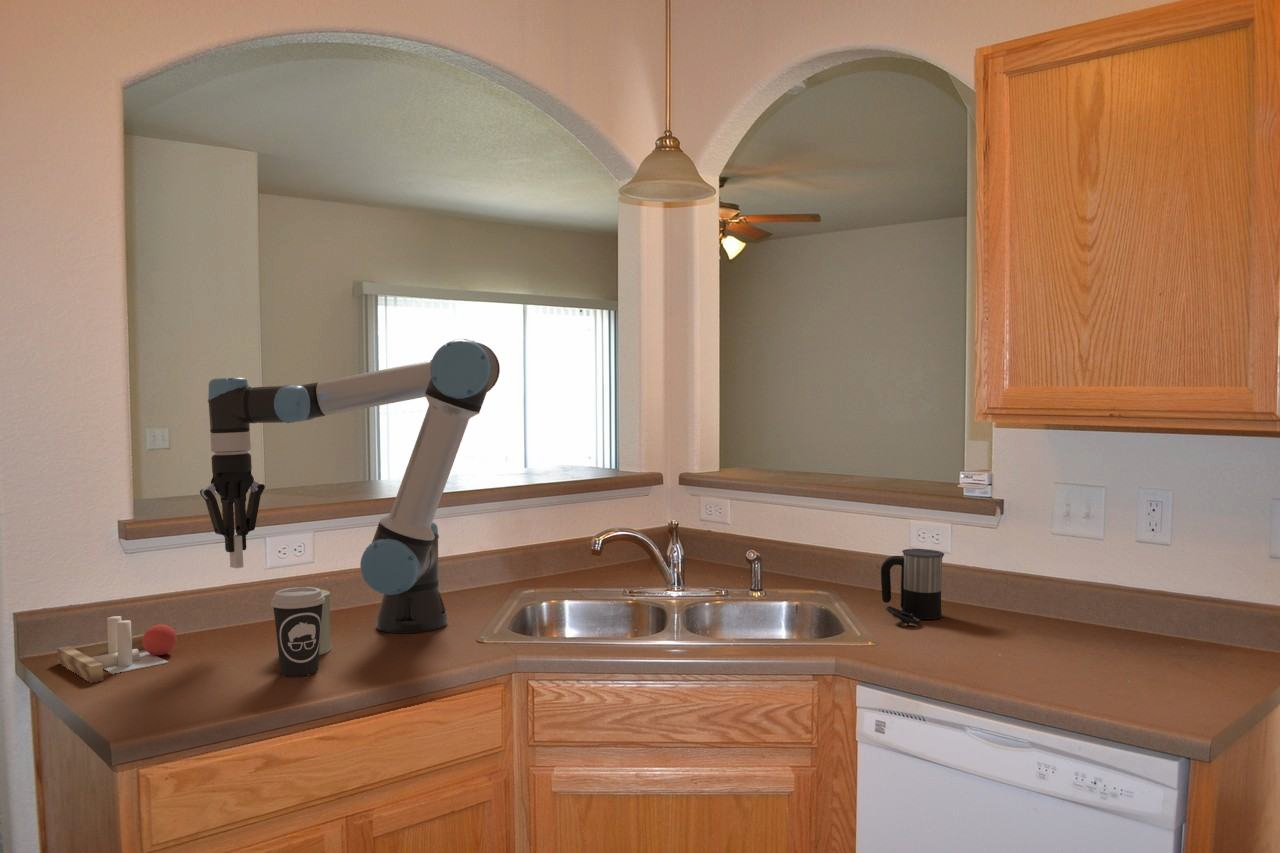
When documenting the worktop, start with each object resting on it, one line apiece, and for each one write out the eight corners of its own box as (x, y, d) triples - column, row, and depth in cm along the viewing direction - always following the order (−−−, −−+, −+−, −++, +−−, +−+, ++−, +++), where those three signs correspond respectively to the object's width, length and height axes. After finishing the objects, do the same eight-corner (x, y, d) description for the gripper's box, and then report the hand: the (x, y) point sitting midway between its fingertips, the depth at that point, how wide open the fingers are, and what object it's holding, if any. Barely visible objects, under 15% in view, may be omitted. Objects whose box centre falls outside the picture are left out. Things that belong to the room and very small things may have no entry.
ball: (145, 655, 185) (176, 658, 190) (153, 623, 187) (184, 627, 191) (134, 652, 190) (165, 655, 194) (142, 621, 191) (173, 625, 195)
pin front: (139, 649, 186) (90, 658, 180) (139, 662, 186) (91, 671, 180) (134, 647, 187) (86, 656, 181) (135, 660, 187) (86, 669, 181)
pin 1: (124, 661, 186) (123, 617, 186) (111, 664, 184) (109, 619, 184) (120, 658, 188) (118, 615, 187) (106, 661, 186) (105, 617, 186)
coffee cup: (336, 666, 183) (335, 587, 182) (308, 681, 173) (306, 598, 173) (291, 662, 185) (289, 585, 184) (260, 677, 175) (259, 595, 175)
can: (272, 653, 191) (271, 593, 191) (308, 642, 199) (307, 585, 199) (306, 660, 187) (304, 598, 186) (341, 648, 195) (340, 589, 194)
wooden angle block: (193, 661, 186) (193, 646, 185) (91, 683, 172) (90, 666, 172) (156, 645, 198) (156, 630, 198) (58, 663, 184) (57, 648, 184)
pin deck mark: (168, 662, 185) (168, 661, 185) (112, 674, 178) (112, 673, 178) (144, 651, 193) (144, 650, 193) (89, 661, 186) (89, 660, 186)
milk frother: (937, 611, 226) (937, 548, 225) (956, 628, 210) (957, 560, 209) (875, 611, 226) (876, 548, 226) (890, 627, 211) (890, 560, 210)
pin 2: (134, 666, 183) (133, 621, 182) (121, 669, 181) (119, 624, 181) (129, 663, 184) (128, 619, 184) (116, 666, 183) (114, 622, 182)
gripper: (252, 450, 206) (258, 560, 207) (191, 455, 196) (197, 570, 197) (270, 451, 201) (275, 563, 202) (208, 455, 191) (214, 574, 192)
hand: (236, 567), depth 200 cm, fingers closed
